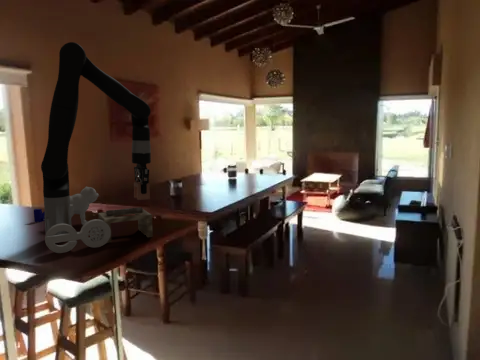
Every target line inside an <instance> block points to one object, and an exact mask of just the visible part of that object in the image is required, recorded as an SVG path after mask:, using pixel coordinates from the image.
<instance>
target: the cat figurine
mask: <svg viewBox="0 0 480 360" xmlns="http://www.w3.org/2000/svg"><path fill="white" fill-rule="evenodd" d="M98 197H101V196H100V195H99V193H98V192H97V191H96V189H95V188H94V187H91V186H85V187H84V188H83V189H81V190H80V192H79V193H75V194H72V195H70V209H71V219H72V218H73V216H75V215H79V218H80V221H81V225H82V226H83V225H84V224H85V223H86V222H88V220H86V213H87V211H88V209H89V207H90V205H91V204H92V203H94V202H96V201H97V199H98ZM43 220H45V219H43ZM71 226H72V227H73V225H72V224H71Z"/></svg>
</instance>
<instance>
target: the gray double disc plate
mask: <svg viewBox="0 0 480 360" xmlns="http://www.w3.org/2000/svg"><path fill="white" fill-rule="evenodd" d="M99 227H100V228H99ZM102 229H103V231H101V230H102ZM59 231H67V232H68V234H60V235H55V234H56V233H57V232H59ZM102 234H103V235H102ZM50 235H53V236H50ZM101 235H102V236H101ZM89 236H90V237H89ZM110 236H111V237H112V228H111V229H110V227H109V225H108V224H107V223H105V222H104V221H102V220H99V218H97V219H96V218H95V219H90V220H87V222H86V223H85V224H84V225H82V226H81V228H80V231H77V230H76V229H75V228H74V227H73V225H72V226H70V225H68V224H64V223H62V224H56V225H54V226H52V227H51V228H50V229H49V230H48V231H47V233H46V232H45V236H44V242H45V245H46V247H47V248H48V249H49V250H50V251H51V252H54V253H56V254H63V253H68V252H70V251H71V250H73V249H74V248H75V246H76V245H77V244H78V240H80V241H82V243H83V244H84V245H86V246H87V247H90V248H100V247H102V246H104V245H106V244H108V243H107V242H108V240H109V238H110ZM64 242H66V243H64ZM57 243H64V244H61V245H60V244H59V245H58V244H57Z"/></svg>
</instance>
